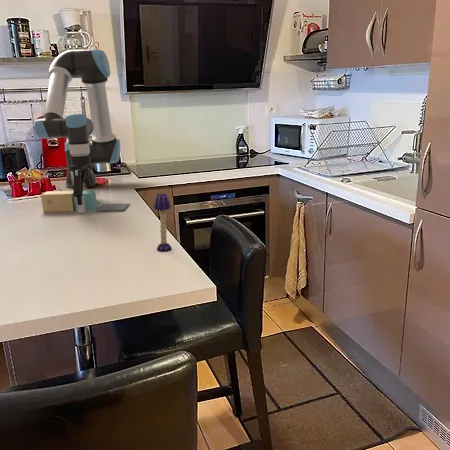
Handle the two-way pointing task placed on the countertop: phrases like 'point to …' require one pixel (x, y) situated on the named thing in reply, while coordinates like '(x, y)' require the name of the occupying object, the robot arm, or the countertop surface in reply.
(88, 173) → the robot arm
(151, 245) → the countertop surface
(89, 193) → the teal cube
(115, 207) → the pad
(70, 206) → the tan cardboard box
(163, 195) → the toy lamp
